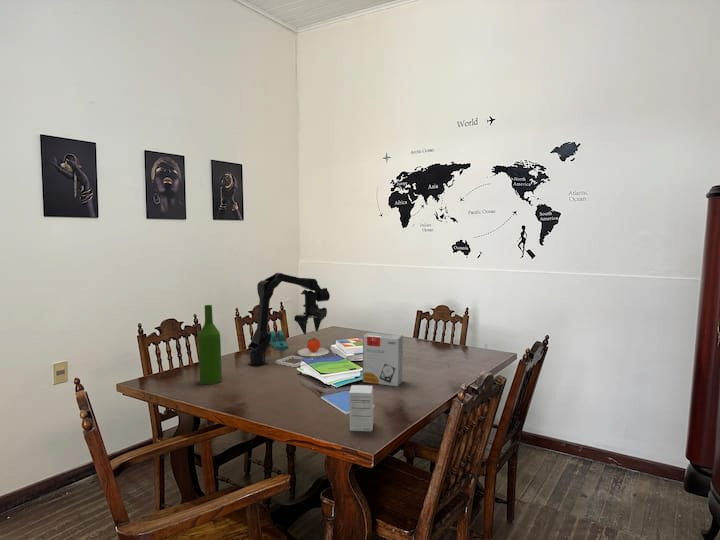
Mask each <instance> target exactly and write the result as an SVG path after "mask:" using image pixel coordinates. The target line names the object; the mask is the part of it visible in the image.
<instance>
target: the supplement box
mask: <svg viewBox="0 0 720 540" xmlns="http://www.w3.org/2000/svg"><path fill="white" fill-rule="evenodd" d="M349 391H350V392H349V413H350V414H349V431H351V432H373V427H374V408H373V405H374V385H361V384H360V385H355V384H351V386H350V389H349Z"/></svg>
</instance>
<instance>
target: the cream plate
mask: <svg viewBox="0 0 720 540" xmlns="http://www.w3.org/2000/svg"><path fill="white" fill-rule="evenodd" d="M328 353H329V354H330V351H329V348H328V349H327V348H323V347H320V348H319V350H317V351H315V352H312V351H310V350H309V349H308V348H307V347H306V348H301V349H299V350H297V355H298V354H299V355H301V356H300V357H302V356H321V355H325V354H328ZM329 354H328V355H329ZM299 355H298V356H299ZM325 356H326V355H325ZM321 357H322V356H321Z"/></svg>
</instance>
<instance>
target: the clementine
mask: <svg viewBox="0 0 720 540" xmlns="http://www.w3.org/2000/svg"><path fill="white" fill-rule="evenodd" d="M306 342H307V343H306ZM305 344H306V348H308V349H309V350H310V351H312V352H315V351H317V350H319V348H321V342H320V340H319V339H318V338H316V337H311V338H308V339H307V341H305Z"/></svg>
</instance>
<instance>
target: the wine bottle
mask: <svg viewBox="0 0 720 540" xmlns="http://www.w3.org/2000/svg"><path fill="white" fill-rule="evenodd" d="M213 319H214V317H213V305H212V304H205V305H204V325H203V327H202V328H201V330H200V331H199V333H198V337H197V338H198V340H197V341H198V361H199V362H198V363H199V365H198V367H199V368H198V369H199V383H200V382H201V383H200V384H202V383H203V384H202V385H215V384H214V383H216V384H218V382H219V383H221V382H222V380H223V379H222V378H223V377H222V375H223V372H222V349H221V348H222V347H221V346H222V345H221V344H222V343H221V333H220V331H219V329H218V328H217V326H216V325H215V324H214V322H213V321H214V320H213ZM220 381H221V382H220Z"/></svg>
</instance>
